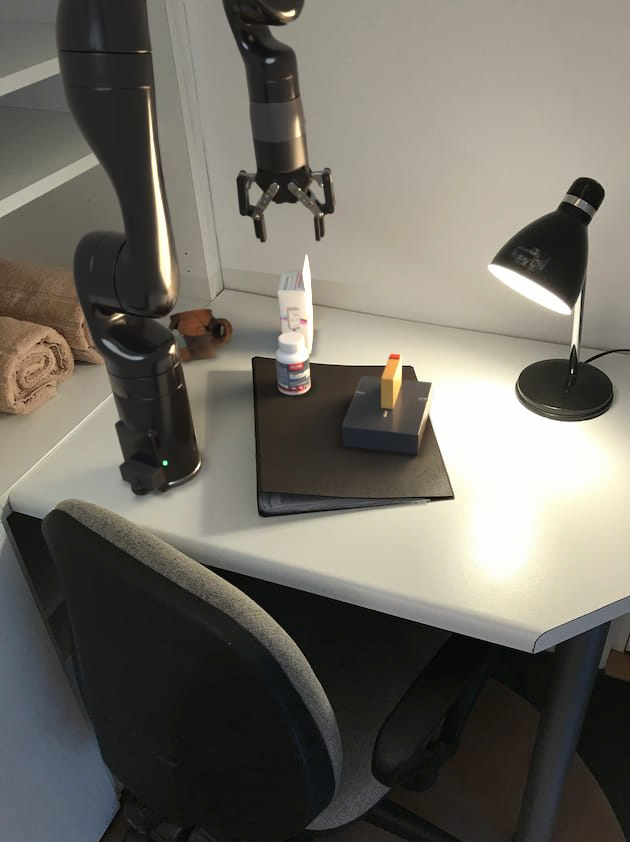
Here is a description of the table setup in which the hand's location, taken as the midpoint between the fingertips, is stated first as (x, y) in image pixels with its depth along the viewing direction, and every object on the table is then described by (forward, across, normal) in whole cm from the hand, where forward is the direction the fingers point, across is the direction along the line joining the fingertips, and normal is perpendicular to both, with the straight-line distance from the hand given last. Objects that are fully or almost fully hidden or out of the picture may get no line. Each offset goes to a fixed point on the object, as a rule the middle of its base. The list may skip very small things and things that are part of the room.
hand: (291, 239), depth 116 cm
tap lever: (+16, +15, -19) cm, 29 cm away
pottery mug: (+20, -18, +1) cm, 27 cm away
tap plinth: (+19, +15, -21) cm, 32 cm away
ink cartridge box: (+21, -1, +3) cm, 21 cm away
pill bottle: (+20, 0, -12) cm, 23 cm away
